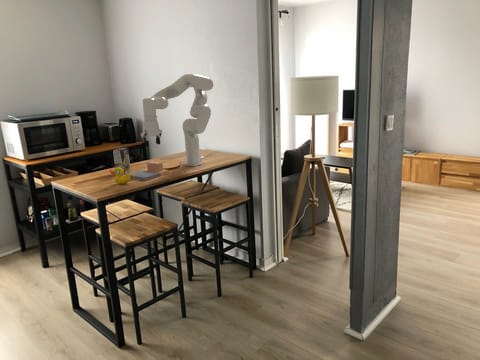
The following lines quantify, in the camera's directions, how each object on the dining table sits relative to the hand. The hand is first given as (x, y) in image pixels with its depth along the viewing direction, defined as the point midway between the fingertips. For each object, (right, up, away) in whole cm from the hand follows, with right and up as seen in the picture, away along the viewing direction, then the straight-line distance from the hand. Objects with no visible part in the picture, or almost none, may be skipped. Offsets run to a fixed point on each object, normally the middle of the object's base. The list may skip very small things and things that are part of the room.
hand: (152, 145), depth 250 cm
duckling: (-15, -24, -17) cm, 33 cm away
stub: (+1, -17, +5) cm, 18 cm away
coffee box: (-21, -17, +8) cm, 29 cm away
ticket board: (-5, -20, -3) cm, 21 cm away
